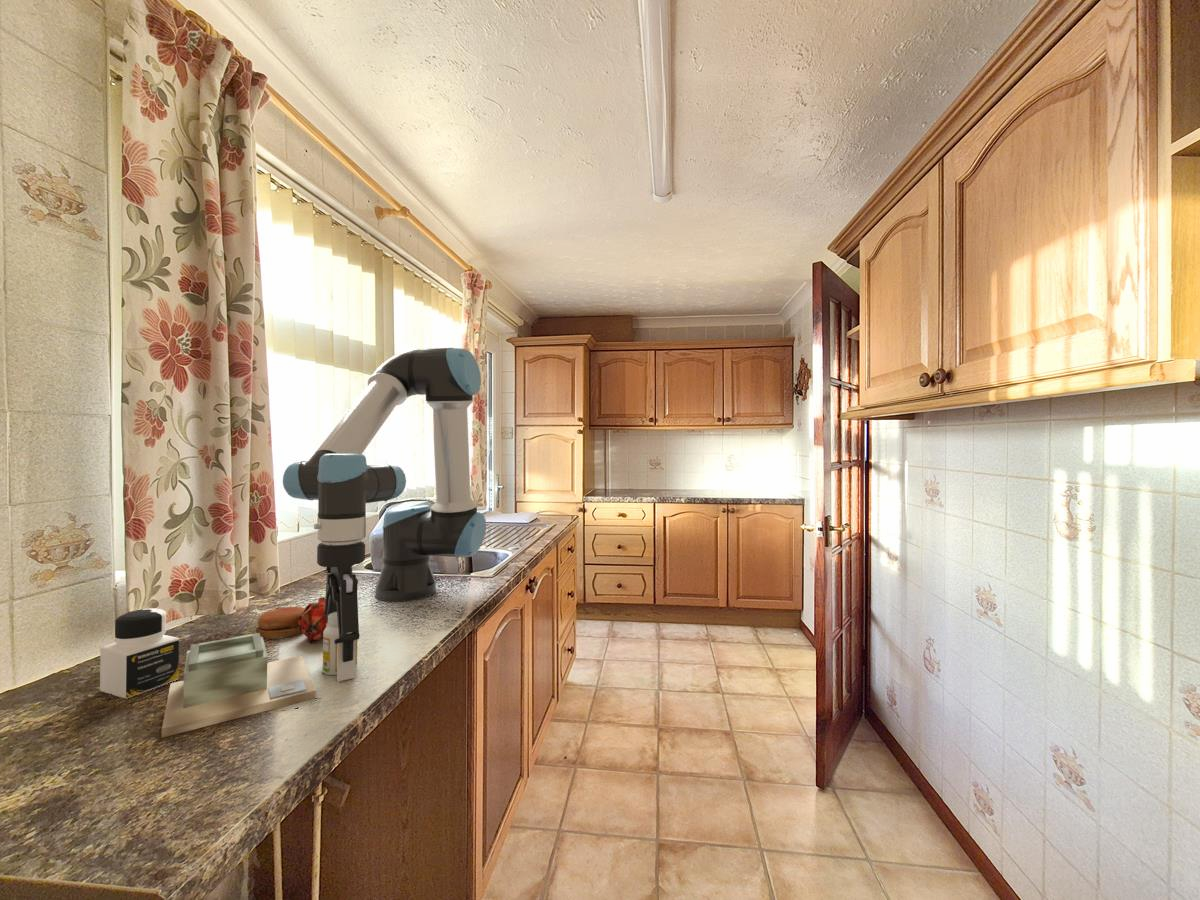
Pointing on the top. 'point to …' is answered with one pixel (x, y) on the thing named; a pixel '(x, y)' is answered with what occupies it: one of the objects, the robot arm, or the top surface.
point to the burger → (280, 622)
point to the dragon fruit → (313, 621)
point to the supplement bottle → (331, 645)
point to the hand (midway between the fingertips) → (340, 667)
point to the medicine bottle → (139, 655)
